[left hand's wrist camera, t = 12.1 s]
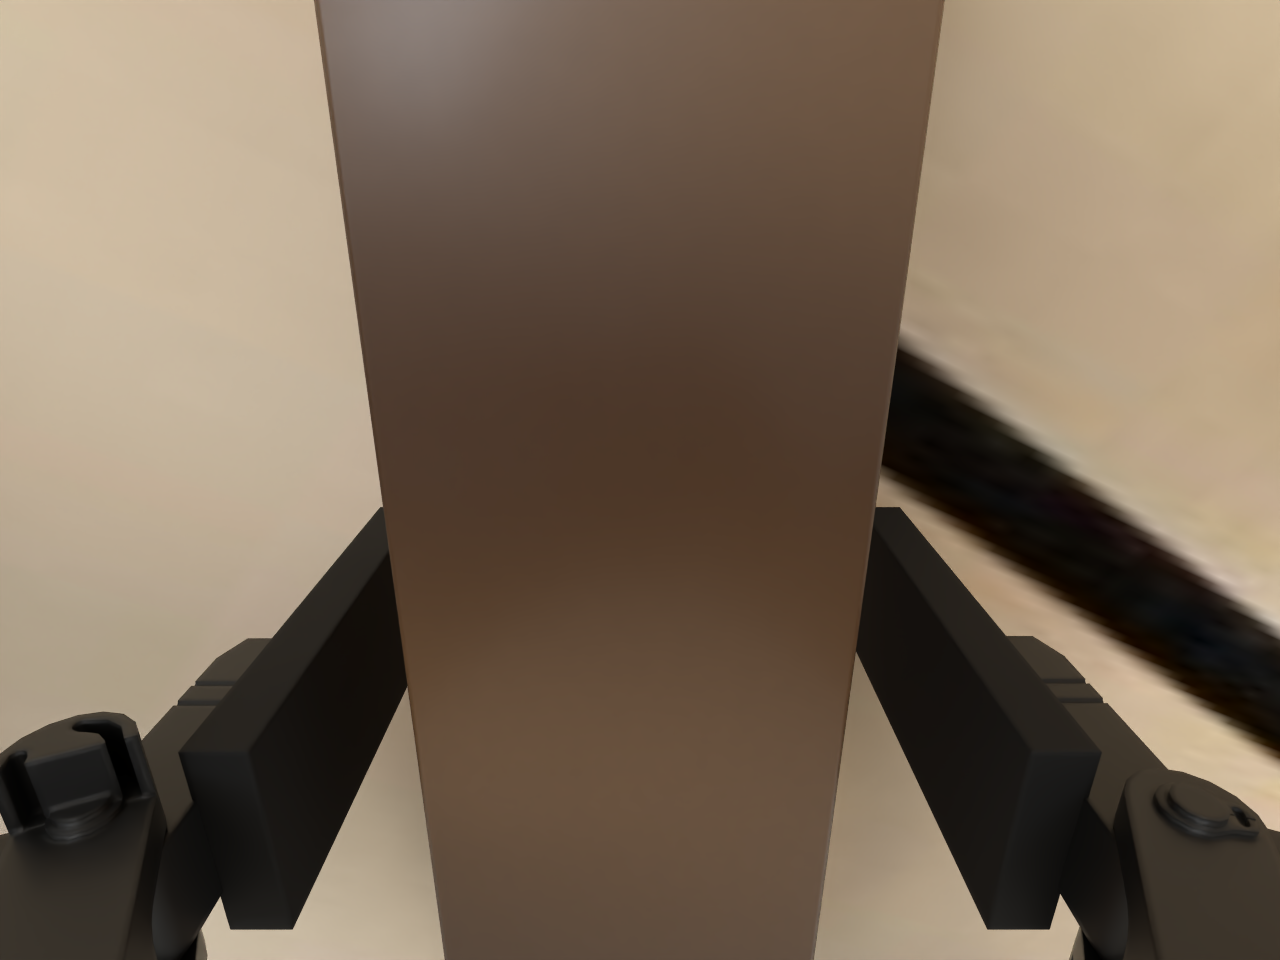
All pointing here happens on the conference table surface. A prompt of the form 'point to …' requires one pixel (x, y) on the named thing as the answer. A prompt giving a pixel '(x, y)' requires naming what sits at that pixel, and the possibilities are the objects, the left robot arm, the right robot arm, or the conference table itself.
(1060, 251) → the conference table surface
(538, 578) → the beam
